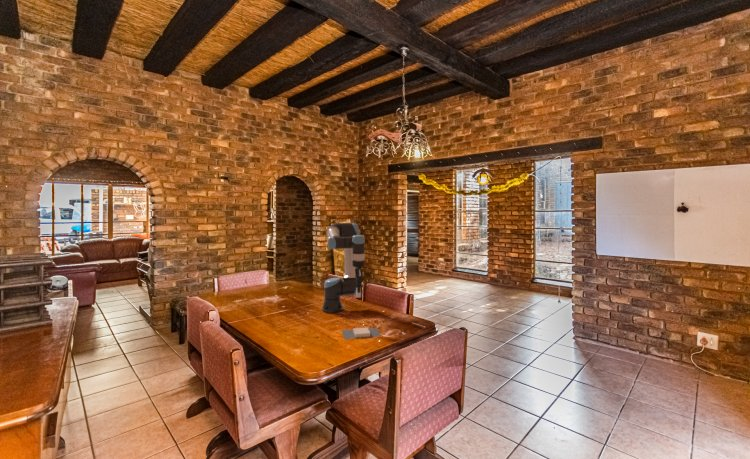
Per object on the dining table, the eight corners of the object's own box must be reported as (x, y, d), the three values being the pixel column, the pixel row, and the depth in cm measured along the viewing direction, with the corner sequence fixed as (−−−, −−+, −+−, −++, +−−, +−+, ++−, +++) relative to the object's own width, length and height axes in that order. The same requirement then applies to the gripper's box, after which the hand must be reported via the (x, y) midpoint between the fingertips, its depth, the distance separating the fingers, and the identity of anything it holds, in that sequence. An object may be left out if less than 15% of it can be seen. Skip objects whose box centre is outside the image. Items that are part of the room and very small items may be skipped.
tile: (352, 328, 204) (355, 334, 195) (367, 327, 206) (370, 333, 197) (352, 332, 204) (355, 337, 195) (367, 330, 206) (370, 336, 197)
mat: (341, 331, 207) (341, 330, 207) (376, 328, 212) (376, 327, 211) (344, 340, 193) (344, 339, 193) (381, 337, 198) (381, 336, 198)
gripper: (351, 258, 213) (351, 294, 216) (354, 262, 201) (354, 300, 203) (362, 258, 215) (362, 293, 217) (366, 261, 202) (366, 299, 205)
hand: (358, 297), depth 210 cm, fingers closed
